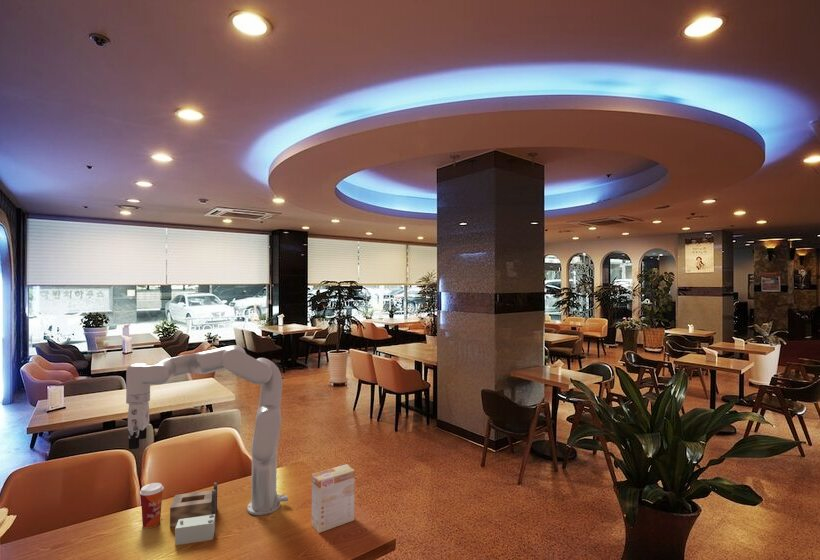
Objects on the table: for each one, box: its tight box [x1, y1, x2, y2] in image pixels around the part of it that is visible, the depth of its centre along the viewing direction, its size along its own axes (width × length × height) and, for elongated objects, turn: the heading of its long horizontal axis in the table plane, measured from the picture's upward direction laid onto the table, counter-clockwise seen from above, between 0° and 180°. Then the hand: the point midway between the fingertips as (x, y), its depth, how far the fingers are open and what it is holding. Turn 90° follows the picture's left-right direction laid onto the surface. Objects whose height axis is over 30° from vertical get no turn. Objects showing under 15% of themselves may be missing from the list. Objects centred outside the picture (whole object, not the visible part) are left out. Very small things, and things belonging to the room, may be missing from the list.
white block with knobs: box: [174, 513, 216, 546], centre depth 155 cm, size 12×6×7 cm, turn 108°
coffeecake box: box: [311, 463, 356, 534], centre depth 166 cm, size 15×7×20 cm, turn 126°
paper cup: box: [139, 482, 164, 529], centre depth 163 cm, size 8×8×14 cm
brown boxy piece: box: [169, 482, 218, 527], centre depth 169 cm, size 15×10×10 cm, turn 108°
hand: (137, 443), depth 161 cm, fingers open, 9 cm apart
